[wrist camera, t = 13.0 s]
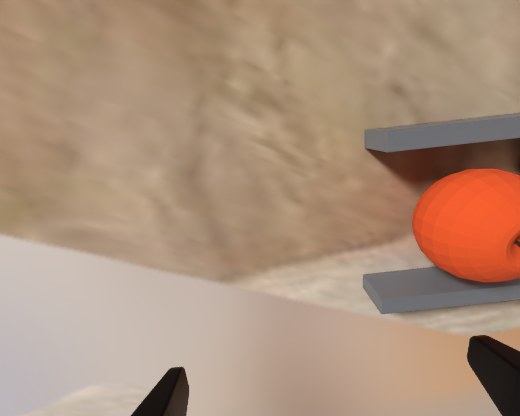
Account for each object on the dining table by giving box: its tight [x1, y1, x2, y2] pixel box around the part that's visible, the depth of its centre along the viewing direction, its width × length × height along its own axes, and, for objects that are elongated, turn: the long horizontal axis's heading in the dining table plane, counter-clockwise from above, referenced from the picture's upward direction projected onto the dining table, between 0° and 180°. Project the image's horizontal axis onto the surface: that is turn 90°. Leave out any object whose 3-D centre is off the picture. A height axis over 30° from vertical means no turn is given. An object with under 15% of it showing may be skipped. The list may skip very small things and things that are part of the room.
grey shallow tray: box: [363, 113, 520, 314], centre depth 17 cm, size 16×12×4 cm
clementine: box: [412, 169, 520, 283], centre depth 16 cm, size 8×7×7 cm
